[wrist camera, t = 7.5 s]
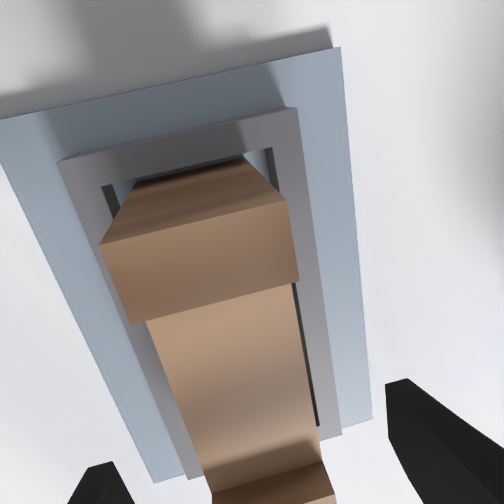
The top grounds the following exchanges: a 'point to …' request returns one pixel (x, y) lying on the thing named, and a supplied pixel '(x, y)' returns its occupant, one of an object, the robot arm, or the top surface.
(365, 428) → the top surface
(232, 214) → the tan notched block
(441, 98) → the top surface
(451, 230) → the top surface
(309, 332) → the jig
